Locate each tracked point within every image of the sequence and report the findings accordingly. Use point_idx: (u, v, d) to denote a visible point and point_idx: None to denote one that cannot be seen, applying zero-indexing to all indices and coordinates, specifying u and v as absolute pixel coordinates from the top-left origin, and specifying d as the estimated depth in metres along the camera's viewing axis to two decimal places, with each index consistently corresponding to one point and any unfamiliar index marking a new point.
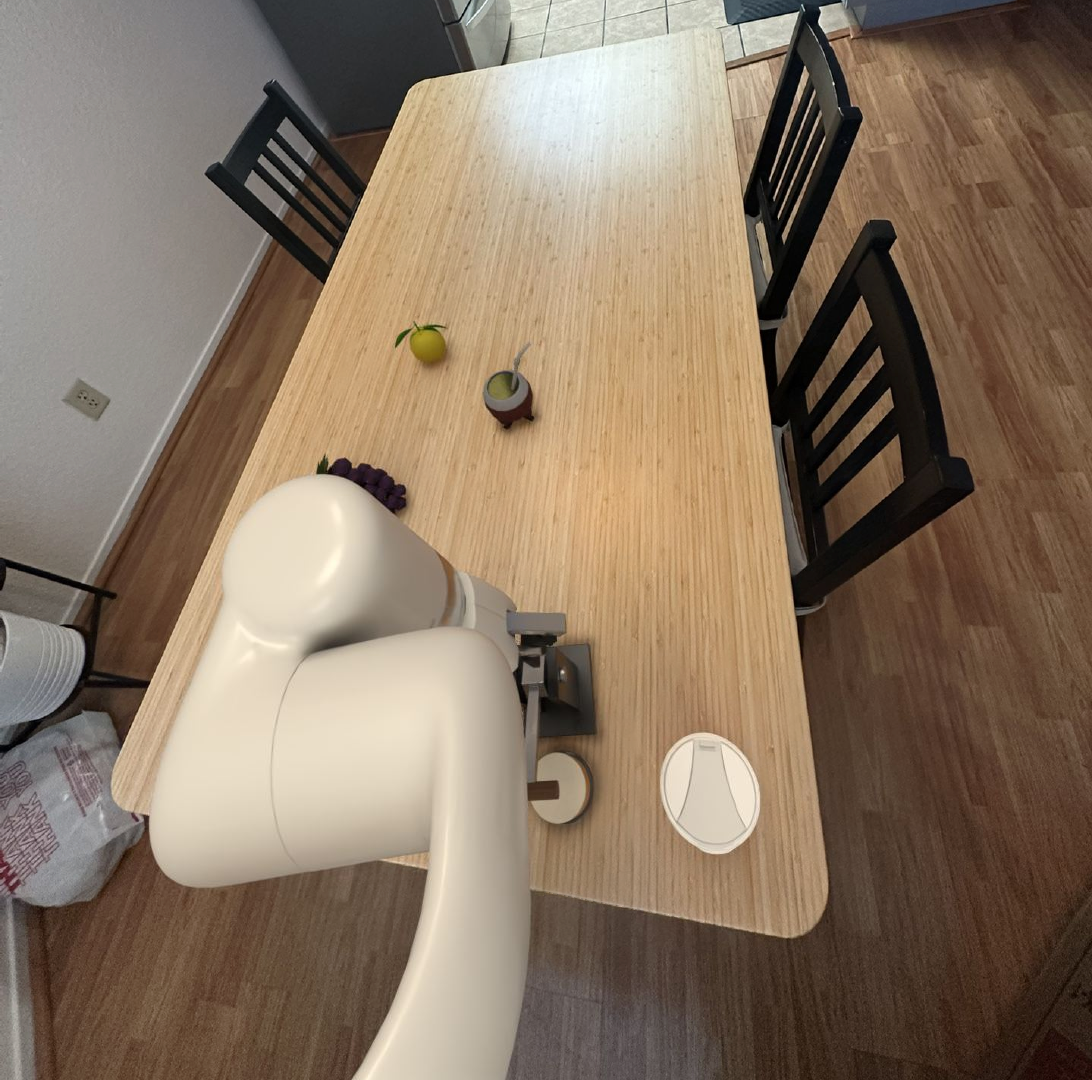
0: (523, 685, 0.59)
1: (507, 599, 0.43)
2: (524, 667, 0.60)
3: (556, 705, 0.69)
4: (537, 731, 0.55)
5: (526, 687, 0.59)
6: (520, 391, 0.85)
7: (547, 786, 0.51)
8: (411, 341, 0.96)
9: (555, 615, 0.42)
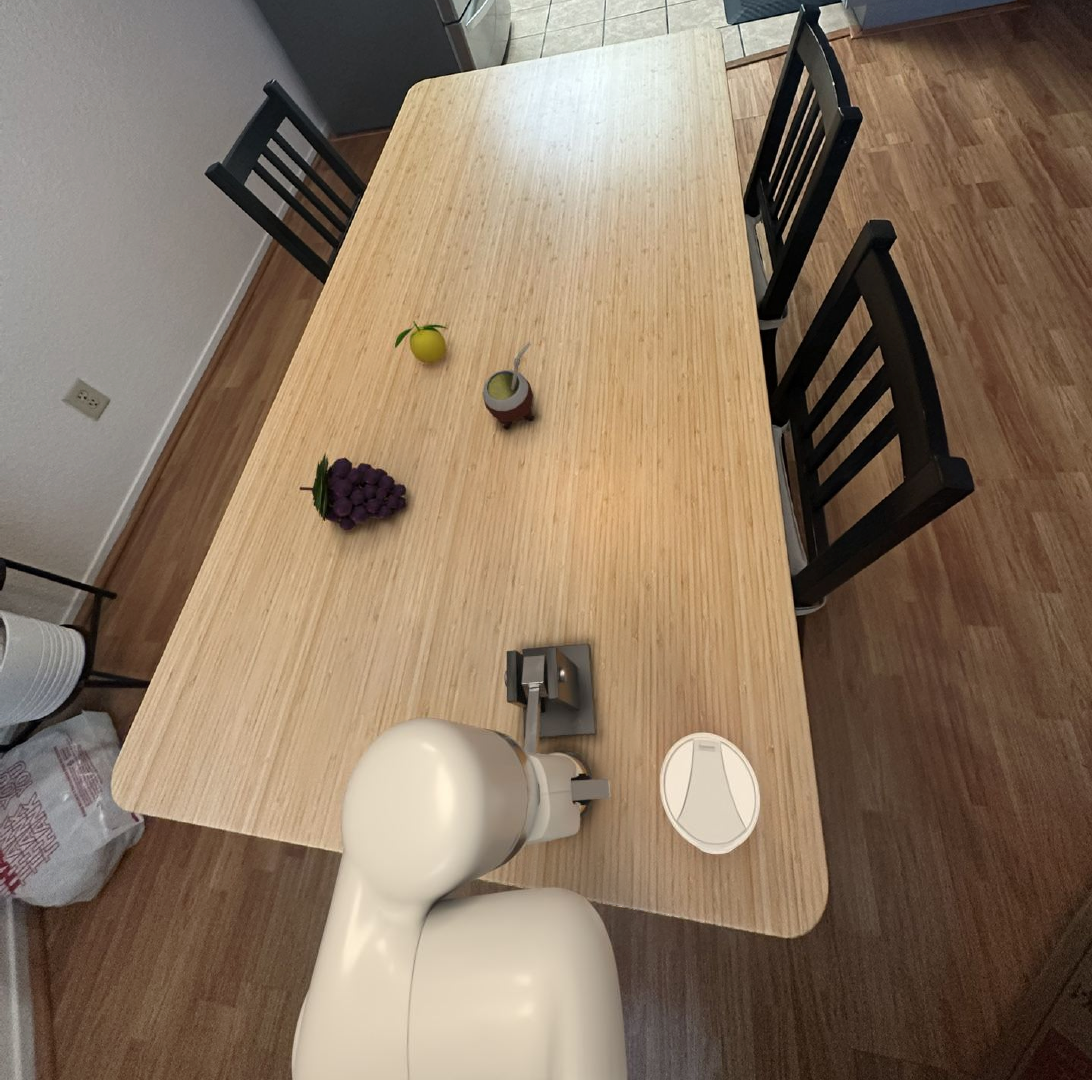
0: (523, 685, 0.59)
1: (570, 765, 0.45)
2: (524, 667, 0.60)
3: (556, 705, 0.69)
4: (537, 731, 0.55)
5: (526, 687, 0.59)
6: (520, 391, 0.85)
7: None
8: (411, 341, 0.96)
9: (604, 781, 0.47)
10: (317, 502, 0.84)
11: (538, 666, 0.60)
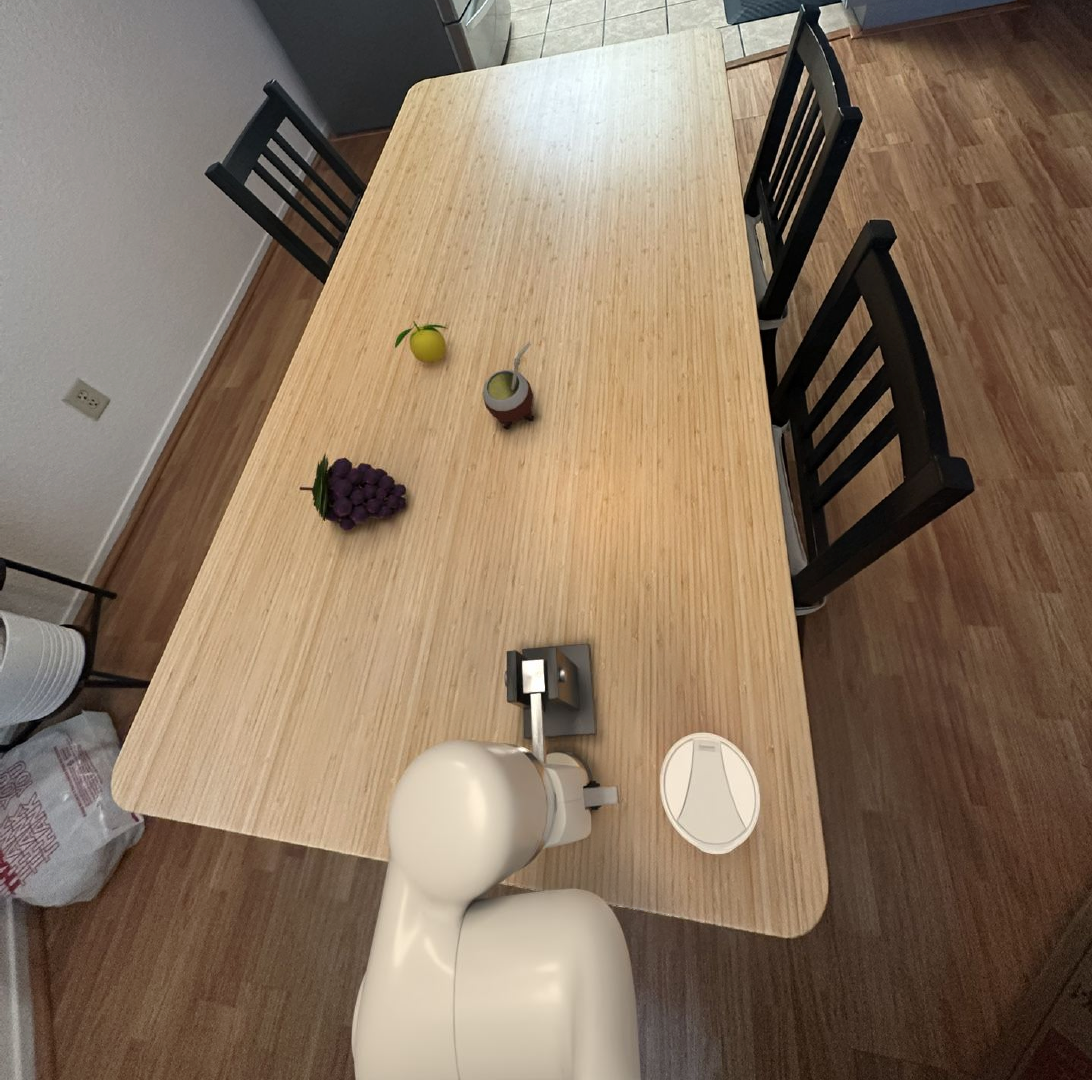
0: (525, 693, 0.59)
1: (582, 775, 0.49)
2: (524, 674, 0.59)
3: (556, 705, 0.69)
4: (543, 740, 0.57)
5: None
6: (520, 391, 0.85)
7: None
8: (411, 341, 0.96)
9: (613, 788, 0.51)
10: (317, 502, 0.84)
11: (538, 673, 0.59)
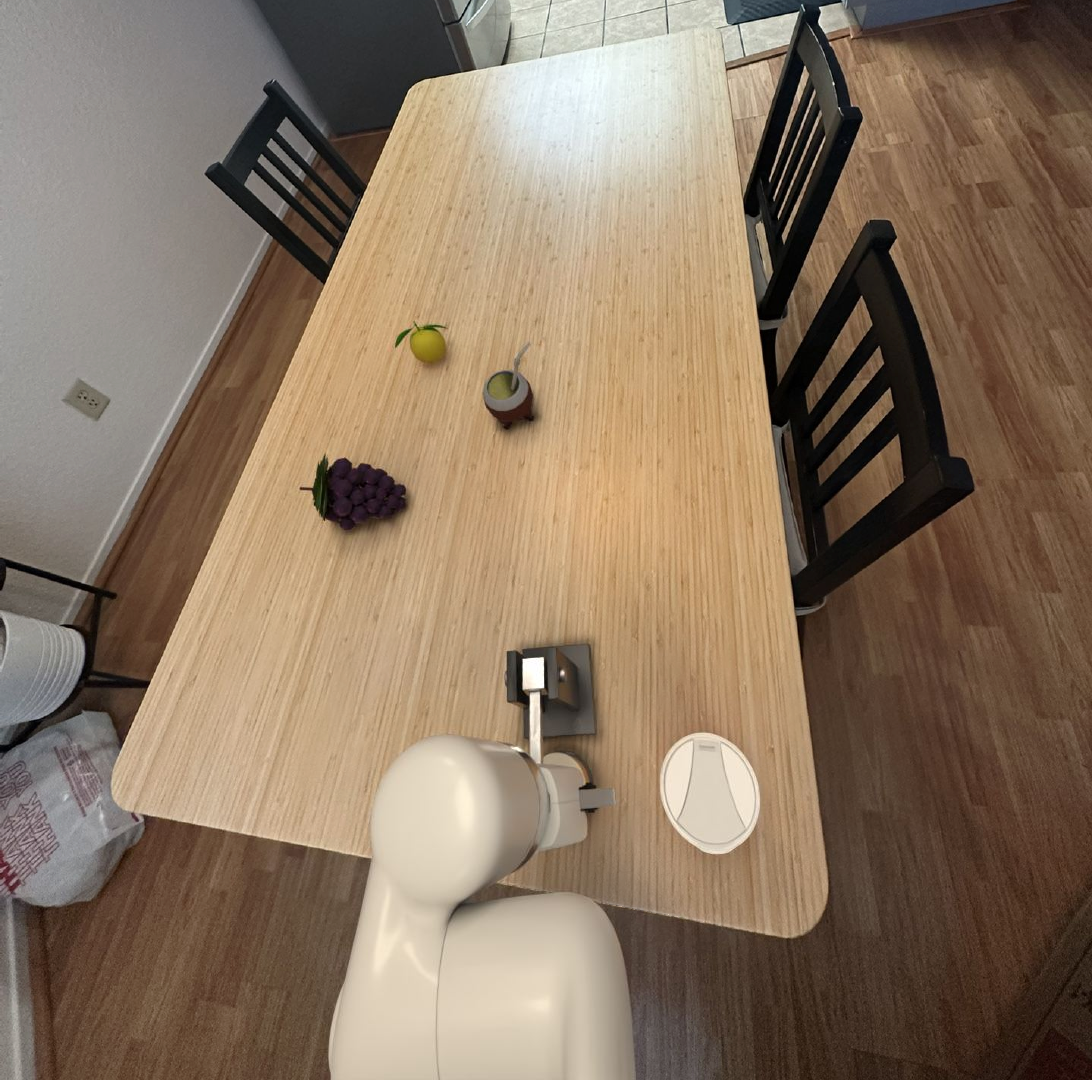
0: (524, 690, 0.59)
1: (577, 775, 0.48)
2: (524, 671, 0.59)
3: (556, 705, 0.69)
4: (541, 739, 0.56)
5: (527, 691, 0.59)
6: (520, 391, 0.85)
7: None
8: (411, 341, 0.96)
9: (610, 790, 0.49)
10: (317, 502, 0.84)
11: (538, 670, 0.59)
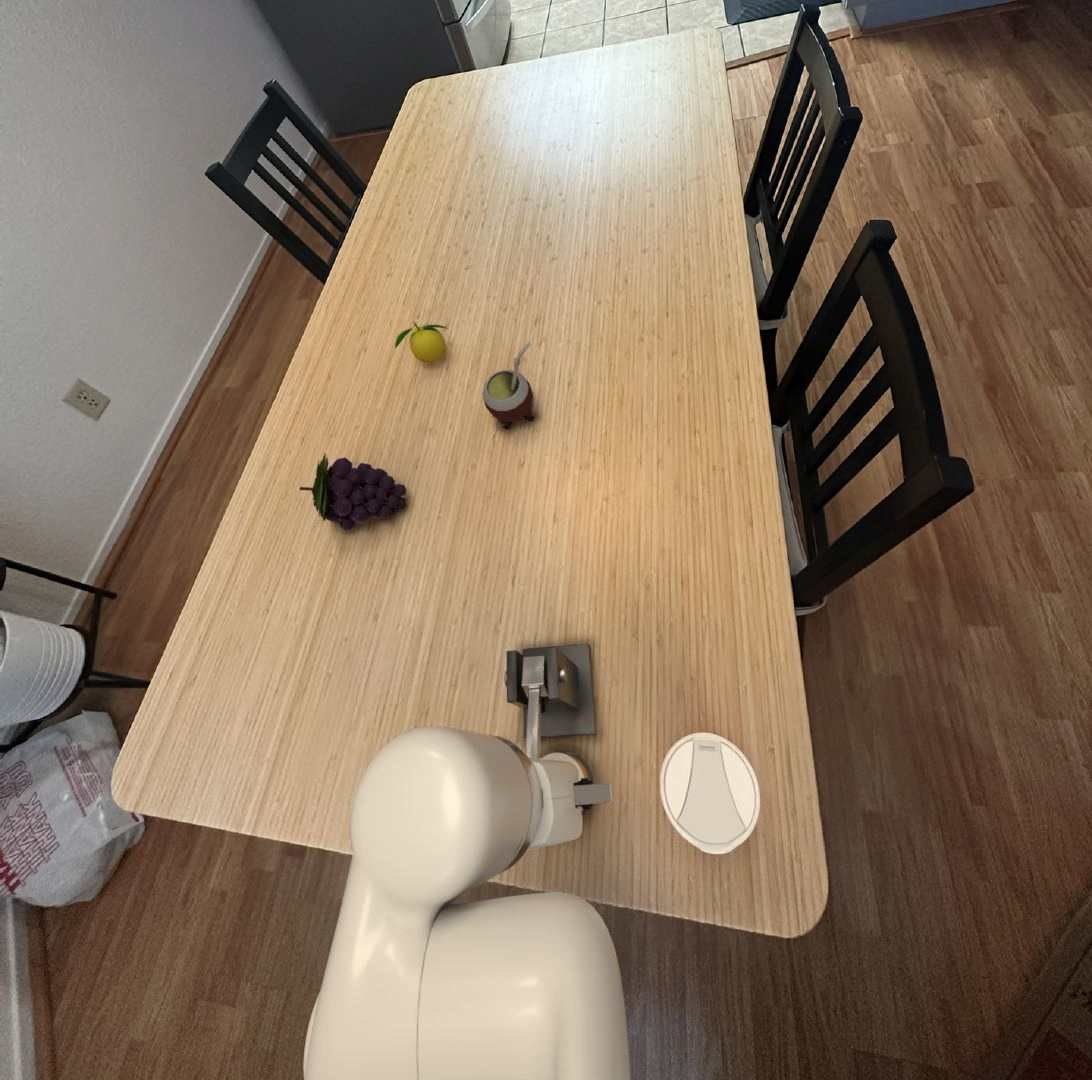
0: (523, 687, 0.59)
1: (572, 770, 0.46)
2: (524, 668, 0.60)
3: (556, 705, 0.69)
4: (538, 734, 0.55)
5: (526, 688, 0.59)
6: (520, 391, 0.85)
7: None
8: (411, 341, 0.96)
9: (606, 786, 0.47)
10: (317, 502, 0.84)
11: (538, 667, 0.60)
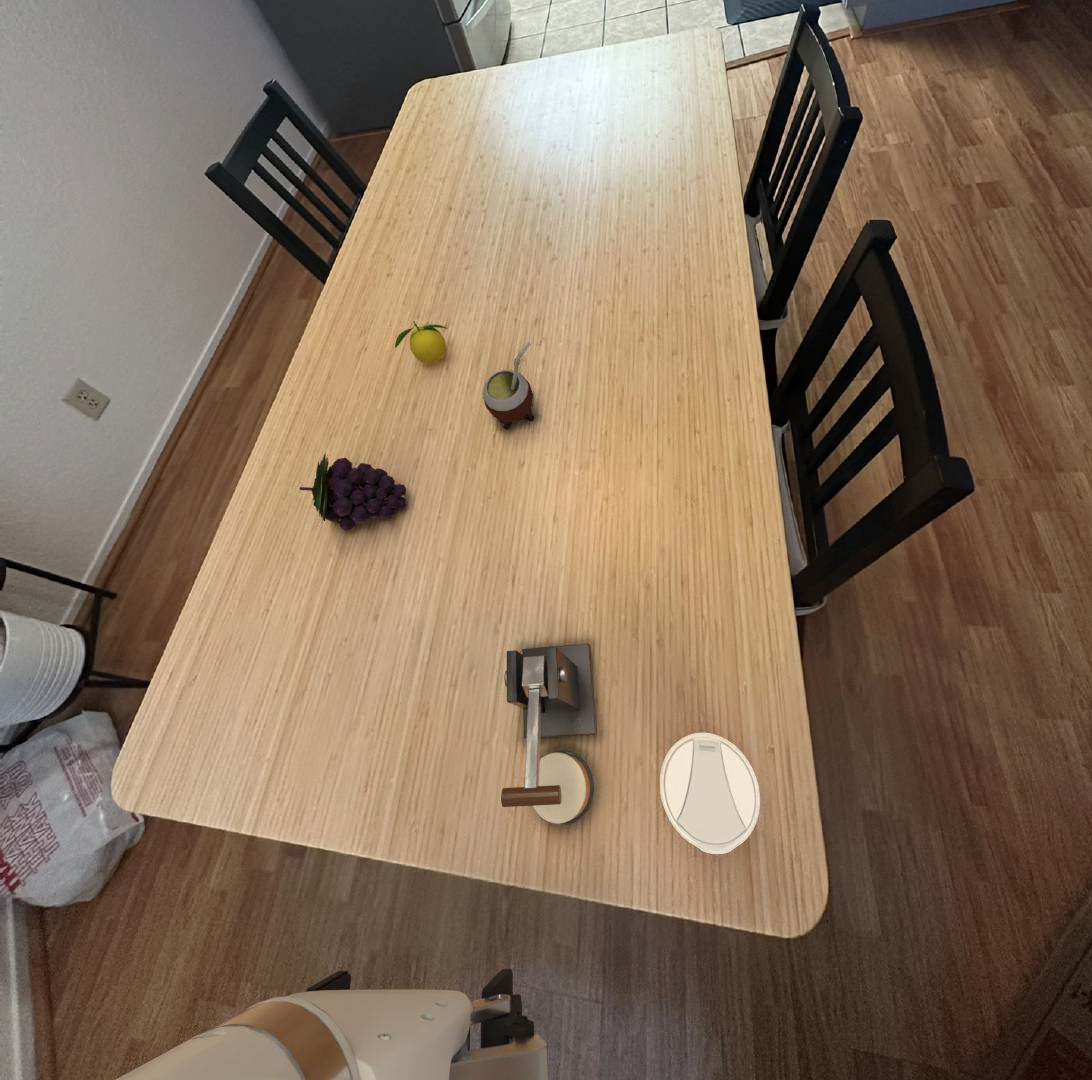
0: (523, 687, 0.59)
1: (454, 1028, 0.27)
2: (524, 668, 0.60)
3: (556, 705, 0.69)
4: (538, 734, 0.56)
5: (526, 688, 0.59)
6: (520, 391, 0.85)
7: (549, 791, 0.51)
8: (411, 341, 0.96)
9: (530, 1056, 0.26)
10: (317, 502, 0.84)
11: (538, 667, 0.60)
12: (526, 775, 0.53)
